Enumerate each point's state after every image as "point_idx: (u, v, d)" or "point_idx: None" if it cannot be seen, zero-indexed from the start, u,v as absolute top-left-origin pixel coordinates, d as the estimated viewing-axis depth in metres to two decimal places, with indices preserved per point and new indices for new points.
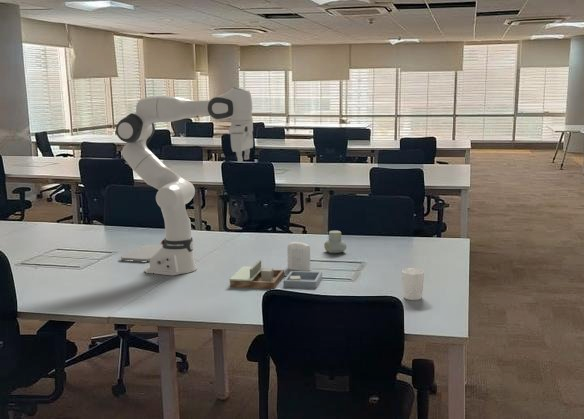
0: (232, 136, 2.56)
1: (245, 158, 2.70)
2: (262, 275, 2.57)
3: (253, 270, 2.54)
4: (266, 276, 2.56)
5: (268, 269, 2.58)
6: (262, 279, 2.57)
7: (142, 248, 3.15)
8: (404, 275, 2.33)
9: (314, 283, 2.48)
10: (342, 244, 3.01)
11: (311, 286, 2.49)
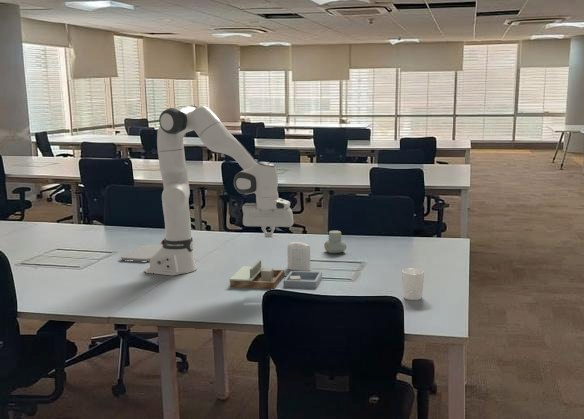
0: (289, 211, 2.50)
1: None
2: (262, 275, 2.57)
3: (253, 270, 2.54)
4: (266, 276, 2.56)
5: (268, 269, 2.58)
6: (262, 279, 2.57)
7: (142, 248, 3.15)
8: (404, 275, 2.33)
9: (314, 283, 2.48)
10: (342, 244, 3.01)
11: (311, 286, 2.49)
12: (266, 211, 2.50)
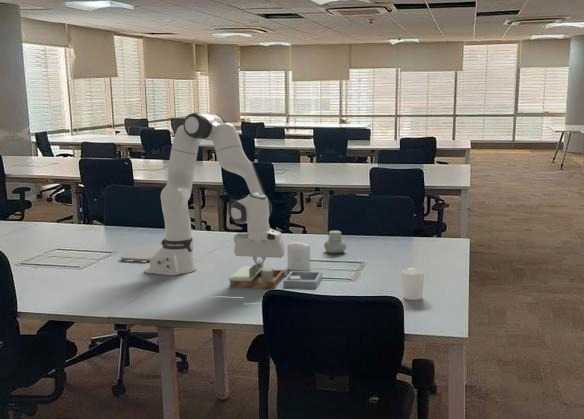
0: (280, 242, 2.53)
1: None
2: (262, 275, 2.57)
3: (252, 270, 2.54)
4: (266, 276, 2.56)
5: (268, 269, 2.58)
6: (262, 279, 2.57)
7: (142, 248, 3.15)
8: (404, 275, 2.33)
9: (314, 283, 2.48)
10: (342, 244, 3.01)
11: (311, 286, 2.49)
12: (257, 242, 2.53)
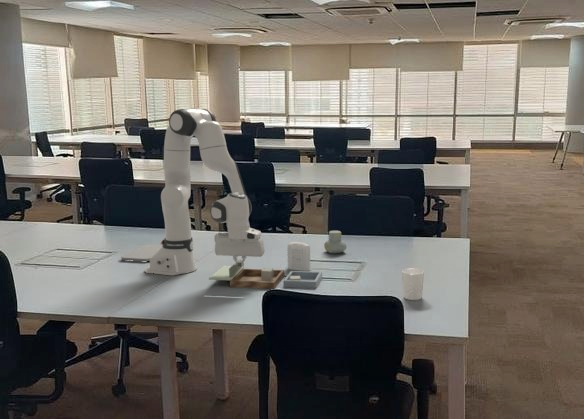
0: (260, 241, 2.55)
1: None
2: (262, 275, 2.57)
3: (232, 269, 2.56)
4: (266, 276, 2.56)
5: (268, 269, 2.58)
6: (262, 279, 2.57)
7: (142, 248, 3.15)
8: (404, 275, 2.33)
9: (314, 283, 2.48)
10: (342, 244, 3.01)
11: (311, 286, 2.49)
12: (237, 241, 2.55)
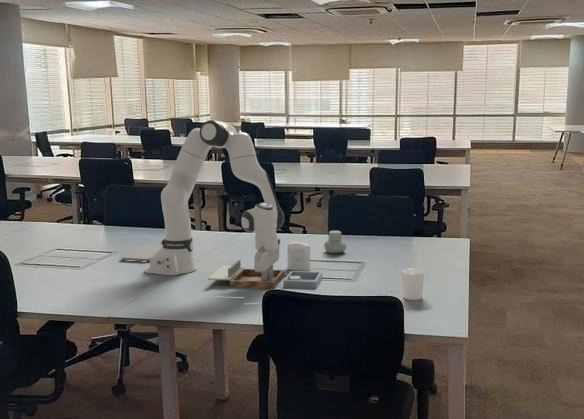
0: None
1: None
2: None
3: (231, 269, 2.56)
4: None
5: (268, 269, 2.58)
6: (262, 279, 2.57)
7: (142, 248, 3.15)
8: (404, 275, 2.33)
9: (314, 283, 2.48)
10: (342, 244, 3.01)
11: (311, 286, 2.49)
12: (274, 250, 2.56)
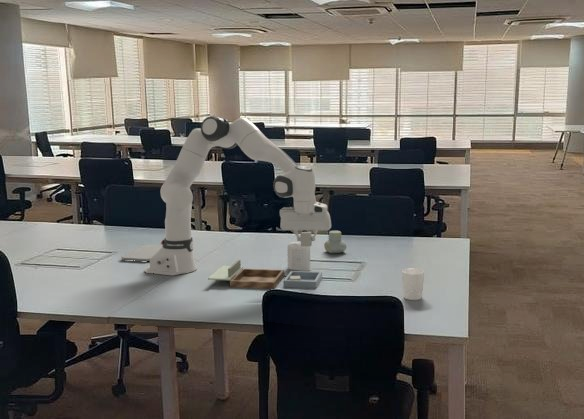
0: (327, 215, 2.51)
1: (300, 239, 2.56)
2: None
3: (231, 269, 2.56)
4: None
5: (306, 233, 2.55)
6: None
7: (143, 248, 3.15)
8: (404, 275, 2.33)
9: (314, 283, 2.48)
10: (342, 244, 3.01)
11: (311, 286, 2.49)
12: (304, 215, 2.51)
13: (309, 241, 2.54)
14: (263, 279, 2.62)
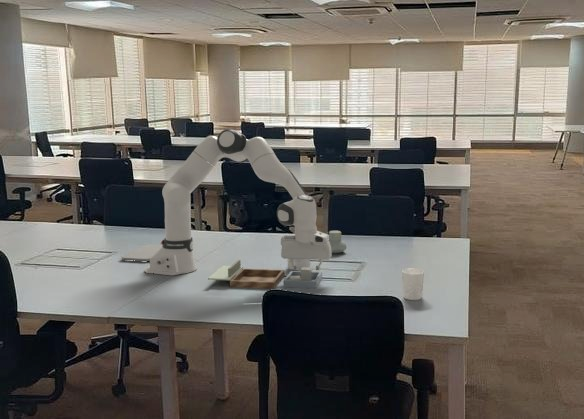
0: (328, 245, 2.53)
1: (296, 268, 2.59)
2: None
3: (231, 269, 2.56)
4: None
5: (307, 268, 2.57)
6: None
7: (143, 248, 3.15)
8: (404, 275, 2.33)
9: (314, 283, 2.48)
10: (342, 244, 3.01)
11: (311, 286, 2.49)
12: (305, 244, 2.53)
13: (309, 277, 2.56)
14: (263, 279, 2.62)
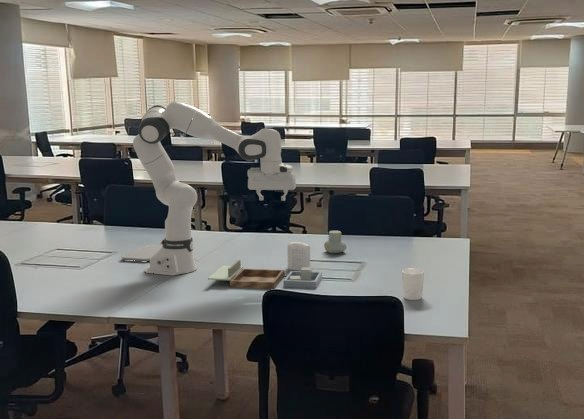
0: (292, 175, 2.64)
1: (262, 199, 2.69)
2: None
3: (231, 269, 2.56)
4: None
5: (307, 268, 2.57)
6: None
7: (143, 248, 3.15)
8: (404, 275, 2.33)
9: (314, 283, 2.48)
10: (342, 244, 3.01)
11: (311, 286, 2.49)
12: (270, 175, 2.64)
13: (309, 277, 2.56)
14: (263, 279, 2.62)
